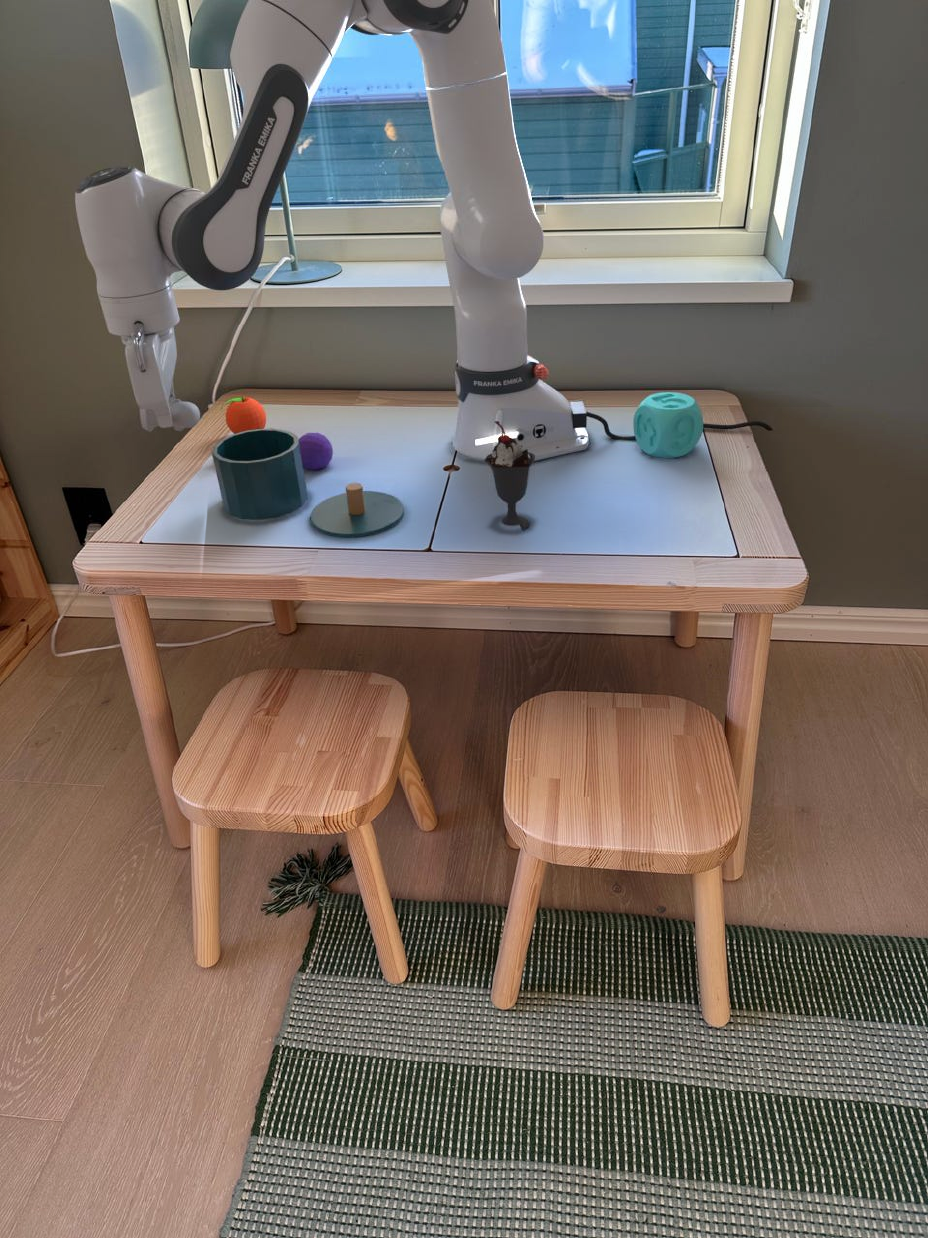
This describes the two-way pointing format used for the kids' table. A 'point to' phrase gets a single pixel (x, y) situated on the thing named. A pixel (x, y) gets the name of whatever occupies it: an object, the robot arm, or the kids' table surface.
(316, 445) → the kendama
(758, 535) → the kids' table surface
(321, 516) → the lid
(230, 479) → the pot
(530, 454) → the sundae
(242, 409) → the clementine
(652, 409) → the decorative dice
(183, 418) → the smooth white sculpture
